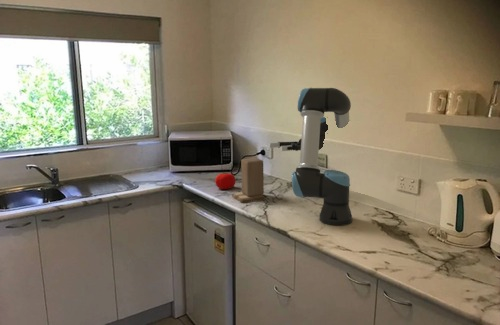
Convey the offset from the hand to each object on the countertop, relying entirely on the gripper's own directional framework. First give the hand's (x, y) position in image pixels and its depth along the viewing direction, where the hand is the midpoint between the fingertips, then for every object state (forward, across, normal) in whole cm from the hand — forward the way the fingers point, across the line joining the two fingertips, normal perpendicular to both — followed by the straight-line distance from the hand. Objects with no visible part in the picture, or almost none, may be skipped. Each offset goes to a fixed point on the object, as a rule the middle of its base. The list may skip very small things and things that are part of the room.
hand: (275, 147), depth 217 cm
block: (+12, +4, -27) cm, 30 cm away
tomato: (+18, +30, -29) cm, 45 cm away
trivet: (+15, +5, -29) cm, 33 cm away
